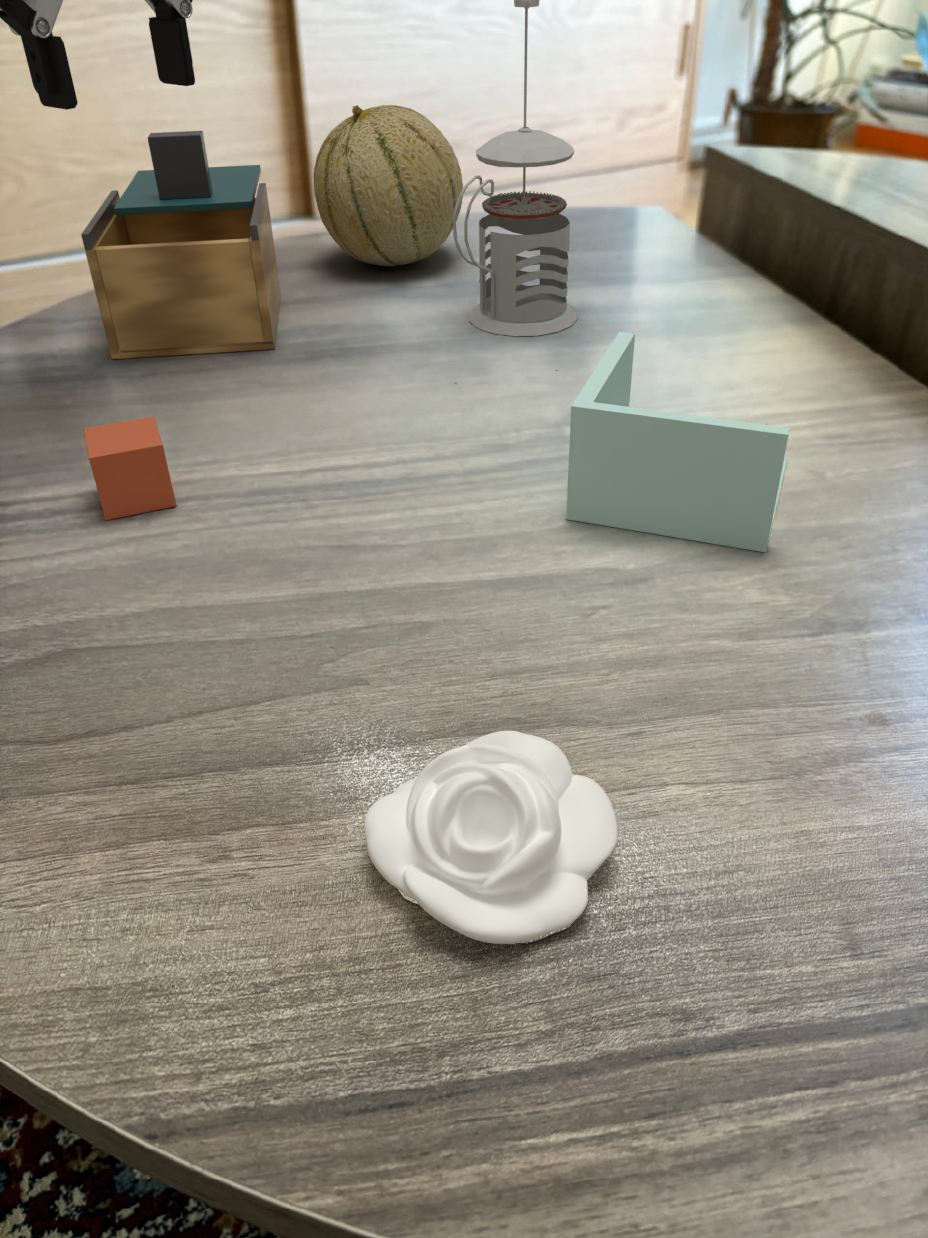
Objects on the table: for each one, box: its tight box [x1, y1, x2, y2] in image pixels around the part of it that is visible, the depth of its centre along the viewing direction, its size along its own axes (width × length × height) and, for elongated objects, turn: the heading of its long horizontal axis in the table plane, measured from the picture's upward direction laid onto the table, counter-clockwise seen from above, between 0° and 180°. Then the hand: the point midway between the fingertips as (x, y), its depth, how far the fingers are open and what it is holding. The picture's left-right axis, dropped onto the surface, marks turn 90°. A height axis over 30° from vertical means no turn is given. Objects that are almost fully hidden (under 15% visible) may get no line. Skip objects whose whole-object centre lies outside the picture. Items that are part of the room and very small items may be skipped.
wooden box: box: [80, 182, 282, 360], centre depth 86 cm, size 14×14×10 cm
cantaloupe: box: [313, 104, 464, 267], centre depth 98 cm, size 15×15×15 cm
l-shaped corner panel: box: [565, 331, 791, 553], centre depth 62 cm, size 12×12×8 cm
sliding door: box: [114, 130, 262, 215], centre depth 89 cm, size 12×14×6 cm
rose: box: [363, 730, 618, 945], centre depth 39 cm, size 10×4×10 cm
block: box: [83, 415, 177, 521], centre depth 63 cm, size 4×4×4 cm
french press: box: [452, 0, 578, 337], centre depth 82 cm, size 10×12×25 cm
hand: (121, 94), depth 67 cm, fingers open, 9 cm apart
